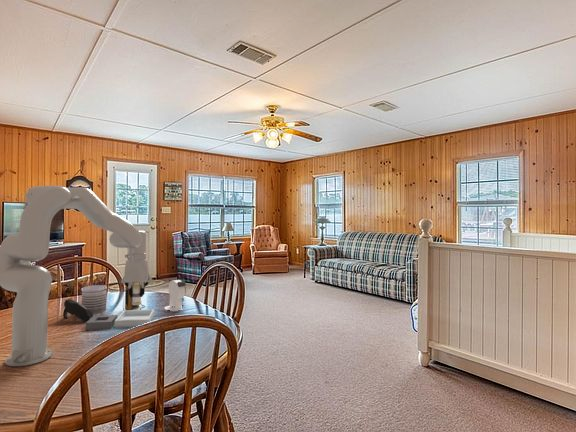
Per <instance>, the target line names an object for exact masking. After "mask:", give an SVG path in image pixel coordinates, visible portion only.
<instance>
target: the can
mask: <svg viewBox="0 0 576 432" xmlns="http://www.w3.org/2000/svg"><path fill="white" fill-rule="evenodd" d="M107 288H108V287H107V285H104V284H93V285H87V286H85V287H81V288H80V289H81V305H83V306H84V307H86V308H87V309H88V310H90V311H91V312H92V314H93V315H94V313H95V314H99V313H103V312H105V311H106V310H107ZM106 312H107V311H106Z"/></svg>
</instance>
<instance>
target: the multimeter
mask: <svg viewBox="0 0 576 432" xmlns="http://www.w3.org/2000/svg"><path fill="white" fill-rule="evenodd" d="M133 284H141V282H133ZM133 284H132V285H133ZM124 287H125V292H124V306H122V309H123V310H122V312H123V311H126V310H135V309H138V308H139V310H142V309H143V308H144V309H145V305H144V304H143V303H141V304H140V305H141V306H142V307H141V308H140V305H132V297H130V295H129V289H128V287H127V286H126V285H125V286H124Z"/></svg>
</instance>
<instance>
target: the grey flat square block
mask: <svg viewBox="0 0 576 432" xmlns="http://www.w3.org/2000/svg"><path fill="white" fill-rule="evenodd" d="M118 316H119V314H109V315H108V314H107V315H106V314H105V315H104V314H103V315H93V317H92V318H91V319H90V320H88V321H87V322H85V331H86V330H89V331H91V330H93V331H94V330H111V329H113V327H114V322H115V320H116V319H117V318H118Z"/></svg>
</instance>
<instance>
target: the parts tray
mask: <svg viewBox="0 0 576 432" xmlns="http://www.w3.org/2000/svg"><path fill="white" fill-rule="evenodd" d="M154 317H155V309H141V310H140V309H136V310H135V309H132V310H124V311H123V310H122V312H121V313H120V314H118V318H117V319H116V320H115V322H114V326H113V327H114V328H116V329H117V328H119V327H120V328H134V327H135V326H138V325H142V324H144V323H147V322H150V321H151V322H153V321H152V320H153V319H154ZM135 328H136V327H135Z"/></svg>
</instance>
